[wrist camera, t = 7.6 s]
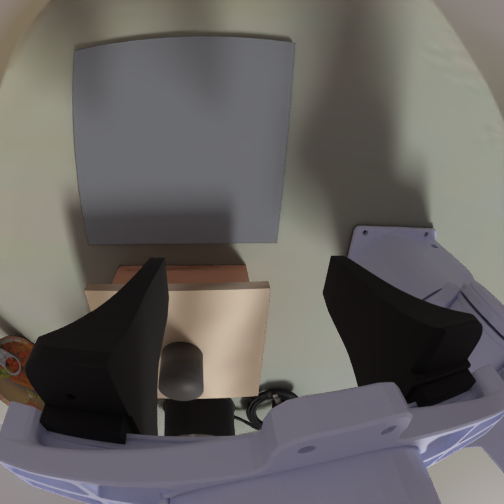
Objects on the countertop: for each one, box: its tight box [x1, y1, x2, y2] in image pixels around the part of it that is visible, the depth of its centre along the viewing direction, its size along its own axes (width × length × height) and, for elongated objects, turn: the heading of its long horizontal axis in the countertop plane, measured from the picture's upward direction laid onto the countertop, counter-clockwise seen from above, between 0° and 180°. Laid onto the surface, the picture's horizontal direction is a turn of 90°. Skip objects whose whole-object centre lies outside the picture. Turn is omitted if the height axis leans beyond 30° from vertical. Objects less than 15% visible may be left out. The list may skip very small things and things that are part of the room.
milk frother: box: [163, 389, 298, 437], centre depth 28 cm, size 14×16×15 cm
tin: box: [0, 336, 45, 412], centre depth 25 cm, size 15×3×8 cm, turn 36°
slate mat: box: [73, 36, 295, 245], centre depth 19 cm, size 15×15×1 cm
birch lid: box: [84, 281, 270, 401], centre depth 21 cm, size 12×12×4 cm
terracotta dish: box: [112, 265, 249, 284], centre depth 25 cm, size 10×10×4 cm
